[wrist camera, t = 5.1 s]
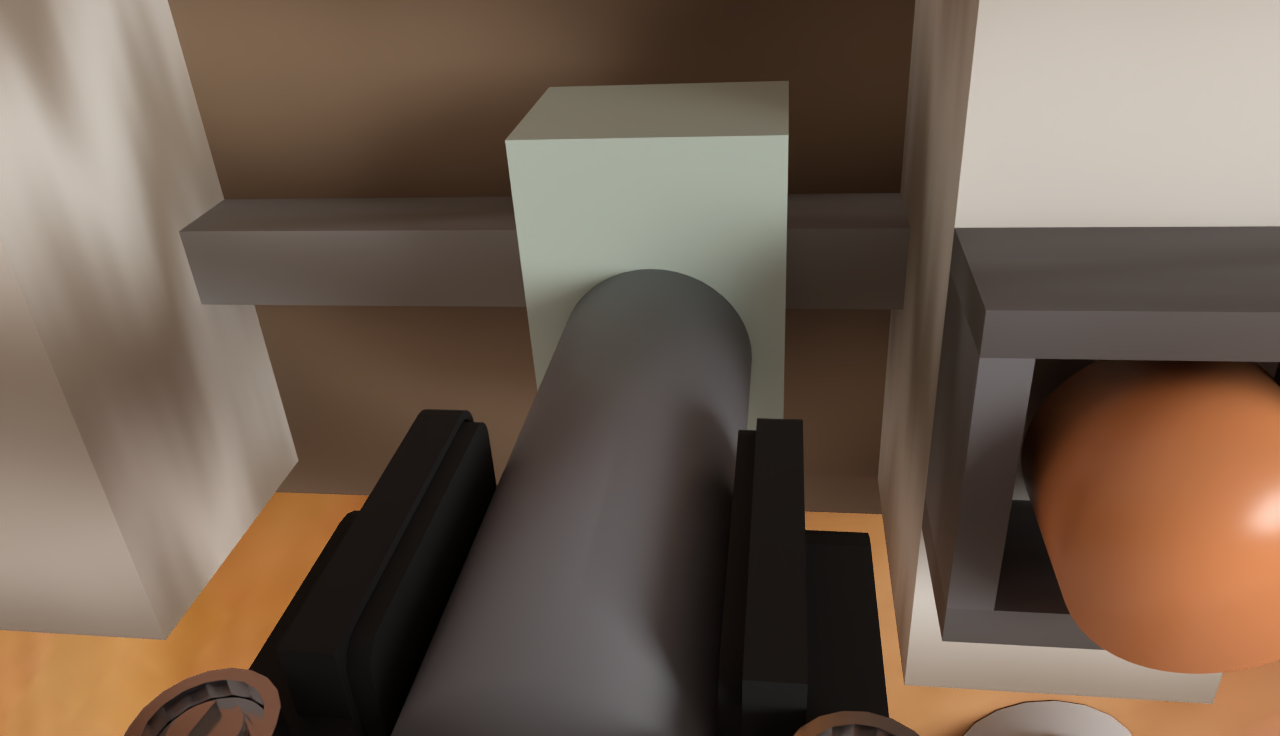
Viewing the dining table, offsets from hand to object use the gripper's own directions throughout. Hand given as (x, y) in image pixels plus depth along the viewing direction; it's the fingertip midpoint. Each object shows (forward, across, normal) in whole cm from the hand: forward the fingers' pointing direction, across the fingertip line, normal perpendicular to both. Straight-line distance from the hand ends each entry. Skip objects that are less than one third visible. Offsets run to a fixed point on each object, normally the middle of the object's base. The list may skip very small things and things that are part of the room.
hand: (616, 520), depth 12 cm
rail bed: (+11, +3, 0) cm, 11 cm away
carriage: (+7, 0, 0) cm, 7 cm away
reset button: (+2, -7, 0) cm, 7 cm away
